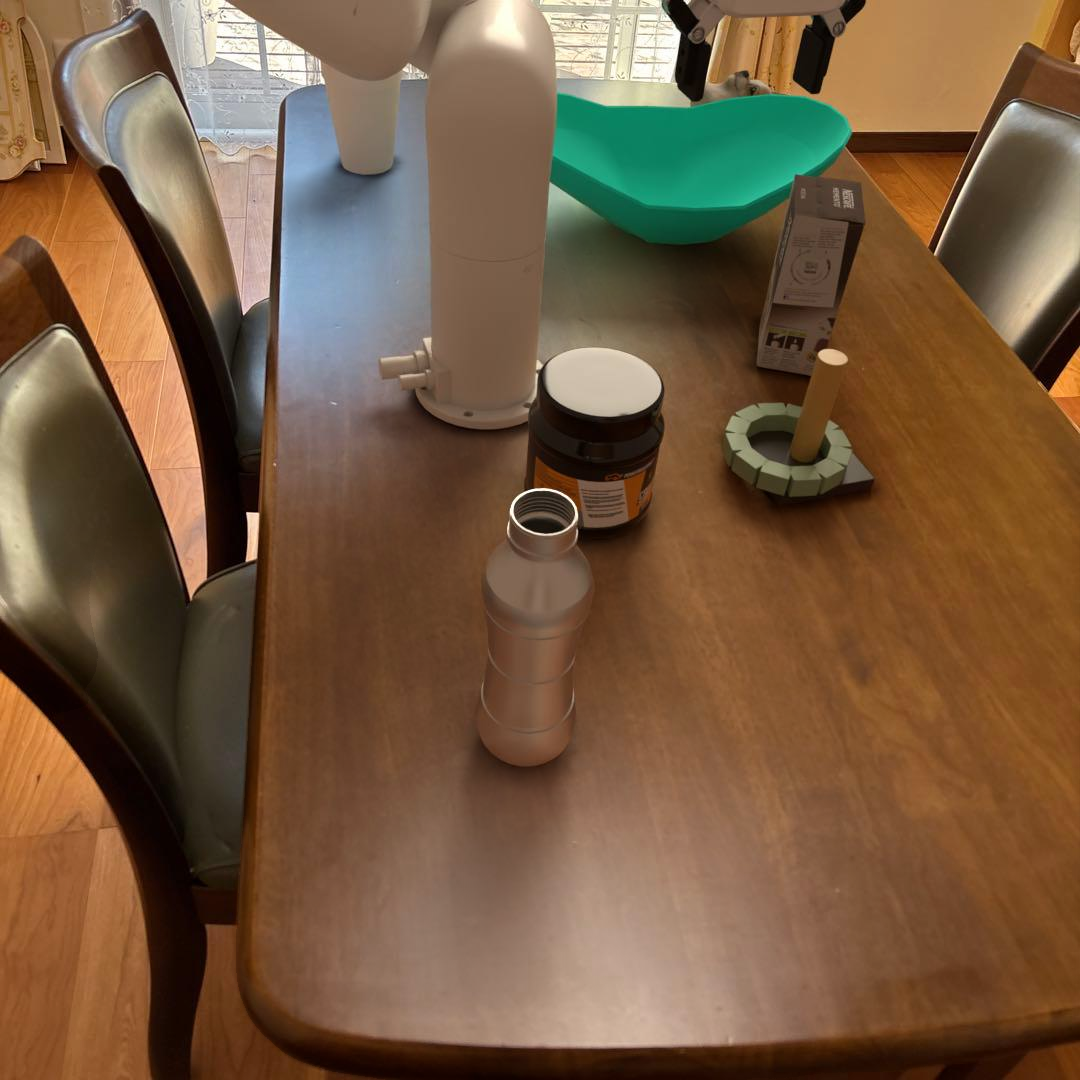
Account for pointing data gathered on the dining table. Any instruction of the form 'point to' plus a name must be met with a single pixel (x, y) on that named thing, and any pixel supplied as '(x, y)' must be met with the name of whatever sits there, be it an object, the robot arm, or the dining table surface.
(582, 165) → the table top decor
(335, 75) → the foam cup
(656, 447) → the supplement container
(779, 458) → the peg stand
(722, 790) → the dining table surface
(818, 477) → the ring
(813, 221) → the coffee box
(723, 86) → the ceramic sculpture
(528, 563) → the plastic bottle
